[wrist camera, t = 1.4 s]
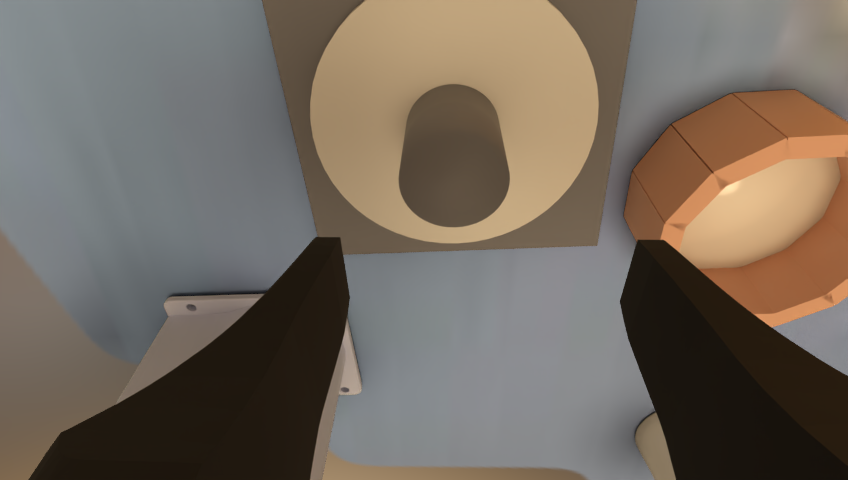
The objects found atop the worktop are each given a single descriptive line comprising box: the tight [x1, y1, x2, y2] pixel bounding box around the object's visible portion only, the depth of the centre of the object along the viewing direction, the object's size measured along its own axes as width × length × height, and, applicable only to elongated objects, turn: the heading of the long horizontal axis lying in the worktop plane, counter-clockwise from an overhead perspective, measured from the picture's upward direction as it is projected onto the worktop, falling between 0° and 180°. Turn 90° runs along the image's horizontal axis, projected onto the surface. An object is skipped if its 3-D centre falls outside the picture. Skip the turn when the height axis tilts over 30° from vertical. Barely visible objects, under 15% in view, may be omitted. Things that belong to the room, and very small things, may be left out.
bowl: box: [624, 90, 848, 327], centre depth 21 cm, size 9×9×4 cm
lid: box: [310, 0, 599, 243], centre depth 19 cm, size 11×11×5 cm
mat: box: [262, 0, 637, 255], centre depth 21 cm, size 13×13×1 cm
